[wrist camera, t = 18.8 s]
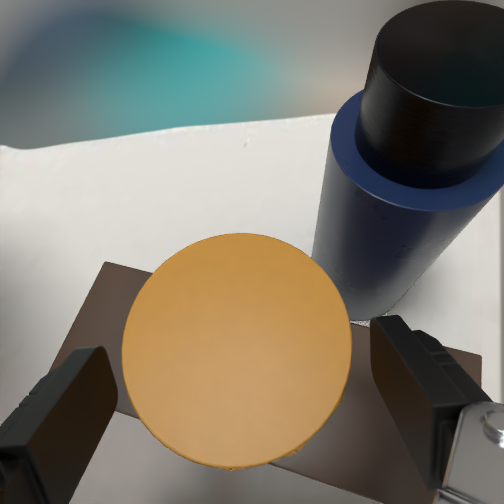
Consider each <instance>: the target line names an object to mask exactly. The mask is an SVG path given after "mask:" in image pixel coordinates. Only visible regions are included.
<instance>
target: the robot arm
mask: <svg viewBox="0 0 504 504" xmlns="http://www.w3.org/2000/svg"><path fill="white" fill-rule="evenodd" d="M370 363H371V371H372V375H373V379H374V382H375V384H376V387H377V389H378V391H379V393H380V395H381V397H382V399H383V401H384V403H385V405H386V407H387V409H388V411H389V413H390V415H391V417H392V419H393V421H394V423H395V425H396V427H397V429H398V431H399V433H400V435H401V437H402V439H403V441H404V443H405V445H406V447H407V449H408V451H409V453H410V455H411V457H412V459H413V461H414V464H415V466H416V468H417V470H418V472H419V474H420V476H421V478H422V480H423V482H424V484H425V486H426V488H427V490H428V491H436V494H435V497H434V501H433V504H504V404H500V403H495V402H493V401H492V400H491V399H490V398H489V396H488V395H487V394H486V393H485V392H484V391H483V390H482V389H481V388H480V386H479V385H478V384H477V383H476V382H475V381H474V380H473V379H472V378H471V376H470V375H469V374H468V373H467V372H466V371H465V370H464V369H463V368H462V367H461V365H460V364H457V361H456V360H455V359H454V358H453V357H452V355H451V354H448V351H447V350H446V349H445V348H444V347H443V345H442V344H441V343H440V342H439V341H438V340H437V339H436V338H434V337H432V336H430V335H428V334H427V333H425V332H423V331H421V330H414V331H412V330H411V329H410V328H409V327H408V326H407V324H406V323H405V322H404V321H403V319H402V318H401V317H400V316H399V315H390V316H381V317H372V318H371V320H370ZM117 402H118V388H117V385H116V381H115V378H114V374H113V371H112V368H111V364H110V361H109V358H108V354H107V351H106V349H105V348H104V347H103V346H91V347H82V348H76V349H74V350H73V351H72V352H71V353H70V355H69V356H68V357H67V358H66V359H65V361H64V362H63V363H62V364H61V365H60V367H57V368H55V369H54V370H53V371H51V372H50V373H49V374H47V375H46V376H45V377H43V378H42V379H41V380H40V381H39V382H38V383H37V384H36V385H35V387H34V388H33V389H32V390H31V391H30V392H29V396H26V397H25V398H24V399H23V400H22V402H21V403H20V404H19V407H18V408H16V409H15V410H14V411H13V412H12V413H11V414H10V416H9V417H8V418H7V419H6V420H5V421H4V423H3V424H2V425H1V426H0V504H69V502H70V500H71V498H72V496H73V494H74V492H75V490H76V488H77V486H78V484H79V482H80V480H81V478H82V476H83V474H84V472H85V470H86V468H87V466H88V464H89V462H90V460H91V458H92V456H93V454H94V452H95V450H96V448H97V446H98V444H99V442H100V440H101V437H102V435H103V433H104V431H105V429H106V427H107V425H108V423H109V421H110V419H111V417H112V415H113V413H114V411H115V409H116V406H117Z"/></svg>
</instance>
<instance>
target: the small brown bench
mask: <svg viewBox="0 0 504 504" xmlns="http://www.w3.org/2000/svg"><path fill="white" fill-rule="evenodd" d="M152 274H153V273H150V272H146V271H142V270H138V269H134V268H130V267H126V266H122V265H118V264H114V263H110V262H104V264H103V266H102V268H101V270H100V272H99V274H98V276H97V278H96V280H95V282H94V284H93V286H92V287H91V289H90V291H89V293H88V295H87V297H86V299H85V301H84V303H83V305H82V307H81V309H80V311H79V313H78V315H77V317H76V319H75V321H74V323H73V325H72V327H71V329H70V331H69V333H68V335H67V337H66V339H65V341H64V343H63V345H62V347H61V349H60V351H59V353H58V355H57V357H56V359H55V360H54V362H53V364H52V366H51V368H50V370H49V372H48V374H49V373H50V372H51V371H53V370H54V369H55V368H57V367H60V365H61V364H62V363H63V362H64V361H65V359H66V358H67V357H68V356H69V355H70V353H71V352H72V351H73V350H74V349H76V348H82V347H91V346H103V347H104V348H105V349H106V351H107V354H108V358H109V361H110V364H111V368H112V371H113V374H114V378H115V381H116V385H117V388H118V402H117V406H116V409H115V411H117V412H120V413H123V414H126V415H129V416H131V417H134V418H137V419H140V418H139V416H138V414H137V413H136V411H135V409H134V407H133V405H132V403H131V400H130V398H129V396H128V393H127V389H126V386H125V382H124V377H123V370H122V341H123V333H124V329H125V325H126V321H127V318H128V315H129V312H130V310H131V307H132V305H133V303H134V301H135V299H136V297H137V295H138V293H139V292H140V290H141V289H142V287H143V286H144V284H145V283H146V281H147V280H148V279H149V278H150V276H151V275H152ZM350 326H351V332H352V340H353V342H352V350H353V351H352V361H351V368H350V372H349V377H348V381H347V384H346V387H345V389H344V395H343V400H342V401H341V404H340V405H339V406H338V408H337V409H336V410H335V411H334V412H333V414H332V415H331V416H330V418H329V419H328V420H327V422H326V423H325V424H324V426H323V427H322V428H321V429H320V430H319V431H318V432H317V433H316V434H315V435H314V436H313V437H312V438H311V439H310V440H309V441H308V442H307V443H306V444H305V445H304V447H303V448H302V449H301V450H300V451H299V452H297V451H296V454H294V455H290V456H287V457H283V458H280V459H278V460H275V461H272V462H269V463H268V464H270V465H273V466H276V467H279V468H282V469H285V470H288V471H291V472H294V473H297V474H299V475H302V476H305V477H308V478H311V479H314V480H317V481H320V482H323V483H326V484H328V485H331V486H334V487H337V488H340V489H343V490H346V491H349V492H352V493H354V494H357V495H360V496H363V497H366V498H369V499H372V500H375V501H378V502H381V503H383V504H433V501H434V497H435V494H436V491H428V490H427V488H426V486H425V484H424V482H423V480H422V478H421V476H420V474H419V472H418V470H417V468H416V466H415V464H414V461H413V459H412V457H411V455H410V453H409V451H408V449H407V447H406V445H405V443H404V441H403V439H402V437H401V435H400V433H399V431H398V429H397V427H396V425H395V423H394V421H393V419H392V417H391V415H390V413H389V411H388V409H387V407H386V405H385V403H384V401H383V399H382V397H381V395H380V393H379V391H378V389H377V387H376V384H375V382H374V379H373V375H372V371H371V363H370V327H366V326H362V325H358V324H354V323H350ZM443 347H444V348H445V349H446V350H447V351H448V354H451V355H452V357H453V358H454V359H455V360H456V361H457V364H460V365H461V367H462V368H463V369H464V370H465V371H466V372H467V373H468V374H469V375H470V376H471V378H472V379H473V380H474V381H475V382H476V383H477V384H478V385H479V386H480V388H481V372H482V357H481V356H480V355H477V354H473V353H469V352H465V351H461V350H457V349H453V348H449V347H445V346H443ZM140 420H141V419H140Z"/></svg>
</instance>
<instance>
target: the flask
mask: <svg viewBox="0 0 504 504" xmlns="http://www.w3.org/2000/svg"><path fill="white" fill-rule="evenodd" d="M503 184H504V9H502V8H500V7H497V6H493V5H489V4H485V3H479V2H474V1H463V0H447V1H445V0H444V1H435V2H429V3H424V4H420V5H417V6H414V7H411V8H408V9H406V10H404V11H402V12H400V13H398V14H397V15H395V16H394V17H392V18H391V19H390V20H389V21H388V22H386V24H385V25H384V26H383V27H382V28H381V30H380V32H379V33H378V35H377V38H376V41H375V45H374V49H373V54H372V58H371V62H370V66H369V71H368V75H367V80H366V84H365V88H364V89H363V90H361V91H360V92H358V93H356V94H355V95H354V96H352V97H351V98H350V99H349V100H348V101H347V102H345V104H344V105H343V106H342V107H341V109H340V110H339V111H338V113H337V115H336V116H335V118H334V121H333V124H332V127H331V134H330V140H329V146H328V153H327V159H326V166H325V172H324V179H323V185H322V192H321V198H320V205H319V211H318V218H317V224H316V231H315V237H314V244H313V250H312V257H311V258H312V259H313V260H314V261H315V262H316V263H317V264H318V265H319V266H320V267H321V268H322V269H323V270H324V271H325V272H326V273H327V275H328V276H329V277H330V278H331V280H332V281H333V283H334V285H335V286H336V288H337V289H338V291H339V293H340V295H341V297H342V299H343V302H344V304H345V307H346V310H347V313H348V316H349V320H354V321H365V320H371V318H372V317H379V316H381V315H383V314H385V313H386V312H387V311H389V310H390V309H391V308H392V307H393V306H394V305H395V303H396V302H397V301H398V300H399V299H400V298H401V297H402V296H403V295H404V294H405V293H406V291H407V290H408V289H409V288H410V287H411V286H412V285H413V284H414V283H415V282H416V280H417V279H418V278H419V277H420V276H421V275H422V274H423V273H424V272H425V271H426V269H427V268H428V267H429V266H430V265H431V264H432V263H433V262H434V261H435V260H436V259H437V257H438V256H439V255H440V254H441V253H442V252H443V251H444V250H445V249H446V248H447V246H448V245H449V244H450V243H451V242H452V241H453V240H454V239H455V238H456V237H457V236H458V234H459V233H460V232H461V231H462V230H463V229H464V228H465V227H466V226H467V225H468V223H469V222H470V221H471V220H472V219H473V218H474V217H475V216H476V215H477V214H478V212H479V211H480V210H481V209H482V208H483V207H484V206H485V205H486V204H487V203H488V202H489V200H490V199H491V198H492V197H493V196H494V195H495V194H496V193H497V192H498V191H499V189H500V188H501V187H502V186H503Z"/></svg>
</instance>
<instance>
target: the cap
mask: <svg viewBox="0 0 504 504" xmlns="http://www.w3.org/2000/svg"><path fill="white" fill-rule="evenodd" d="M352 342H353V340H352V332H351V326H350V320H349V316H348V313H347V310H346V307H345V304H344V302H343V299H342V297H341V295H340V293H339V291H338V289H337V288H336V286H335V285H334V283H333V281H332V280H331V278H330V277H329V276H328V275H327V273H326V272H325V271H324V270H323V269H322V268H321V267H320V266H319V265H318V264H317V263H316V262H315V261H314V260H313V259H312V258H310V257H309V256H308V255H306V254H305V253H304V252H302V251H301V250H299V249H297V248H295V247H294V246H292V245H290V244H288V243H285V242H283V241H281V240H278V239H275V238H271V237H268V236H264V235H257V234H247V233H235V234H224V235H219V236H214V237H210V238H207V239H204V240H201V241H199V242H196V243H194V244H192V245H190V246H187V247H186V248H184V249H182V250H181V251H179V252H177V253H176V254H174V255H173V256H172V257H170V258H169V259H168V260H166V261H165V262H164V263H163V264H162V265H161V266H160V267H159V268H158V269H157V270H156V271H155V272H154V273H153V274H152V275H151V276H150V278H149V279H148V280H147V281H146V283H145V284H144V286H143V287H142V289H141V290H140V292H139V293H138V295H137V297H136V299H135V301H134V303H133V305H132V307H131V310H130V312H129V315H128V318H127V321H126V325H125V329H124V333H123V341H122V370H123V377H124V382H125V386H126V389H127V393H128V396H129V398H130V400H131V403H132V405H133V407H134V409H135V411H136V413H137V414H138V416H139V418H140V419H141V421H142V423H143V424H144V425H145V426H146V427H147V429H148V430H149V431H150V432H151V434H152V435H153V436H154V437H156V438H157V439H158V440H159V441H160V442H161V443H162V444H163V445H164V446H166V447H167V448H169V449H170V450H172V451H173V452H175V453H176V454H178V455H180V456H182V457H184V458H186V459H188V460H191V461H193V462H195V463H199V464H203V465H206V466H210V467H217V468H222V469H224V470H227V471H230V470H232V471H236V470H240V469H243V468H249V467H254V466H259V465H264V464H267V463H269V462H272V461H275V460H278V459H280V458H283V457H287V456H290V455H294V454H296V451H297V452H299V451H300V450H301V449H302V448H303V447H304V445H305V444H306V443H307V442H308V441H309V440H310V439H311V438H312V437H313V436H314V435H315V434H316V433H317V432H318V431H319V430H320V429H321V428H322V427H323V426H324V424H325V423H326V422H327V420H328V419H329V418H330V416H331V415H332V414H333V412H334V411H335V410H336V409H337V408H338V406H339V405H340V404H341V401H342V400H343V395H344V389H345V387H346V384H347V381H348V377H349V372H350V368H351V361H352V351H353V350H352Z"/></svg>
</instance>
